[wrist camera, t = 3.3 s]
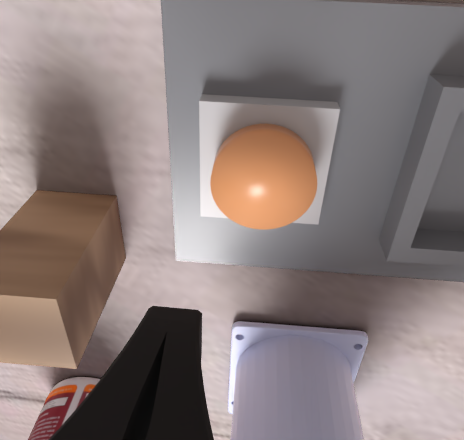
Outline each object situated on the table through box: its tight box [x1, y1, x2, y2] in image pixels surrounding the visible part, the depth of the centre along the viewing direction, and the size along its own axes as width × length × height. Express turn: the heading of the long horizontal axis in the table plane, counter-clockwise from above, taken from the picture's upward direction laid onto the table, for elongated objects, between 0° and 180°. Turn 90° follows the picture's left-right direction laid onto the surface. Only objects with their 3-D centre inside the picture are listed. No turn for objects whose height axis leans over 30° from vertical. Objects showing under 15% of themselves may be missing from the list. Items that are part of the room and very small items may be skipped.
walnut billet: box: [0, 190, 126, 369], centre depth 19 cm, size 4×4×7 cm
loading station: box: [161, 0, 464, 282], centre depth 17 cm, size 12×18×2 cm, turn 88°
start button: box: [210, 124, 317, 230], centre depth 16 cm, size 4×4×1 cm
